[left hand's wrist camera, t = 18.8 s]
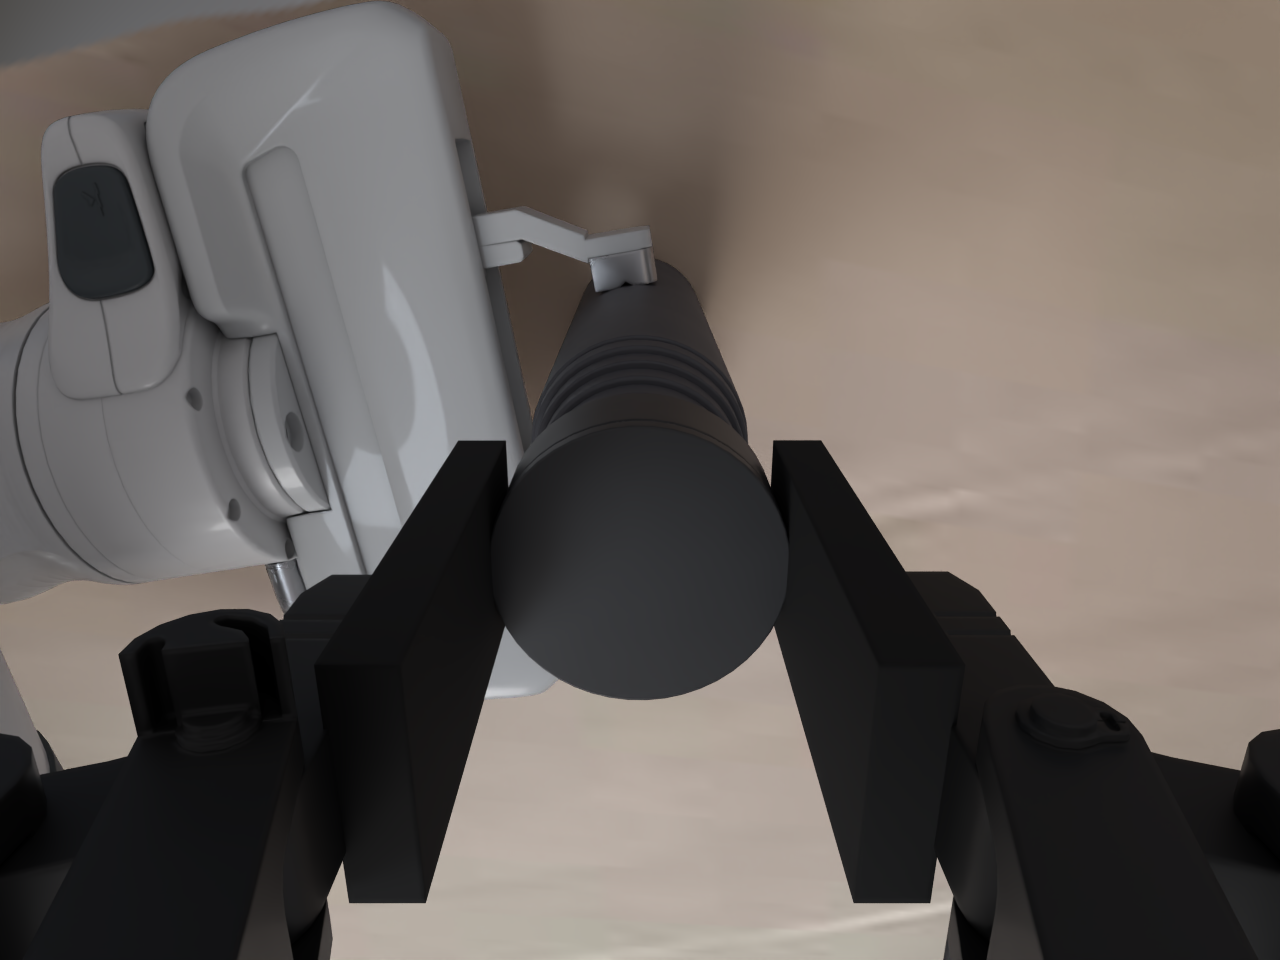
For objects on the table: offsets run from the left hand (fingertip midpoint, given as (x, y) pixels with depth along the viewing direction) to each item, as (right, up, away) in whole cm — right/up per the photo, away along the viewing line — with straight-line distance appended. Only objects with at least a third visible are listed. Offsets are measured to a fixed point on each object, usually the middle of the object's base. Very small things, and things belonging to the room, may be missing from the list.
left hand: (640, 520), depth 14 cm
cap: (0, -1, -2) cm, 2 cm away
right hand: (+1, +4, +12) cm, 12 cm away
